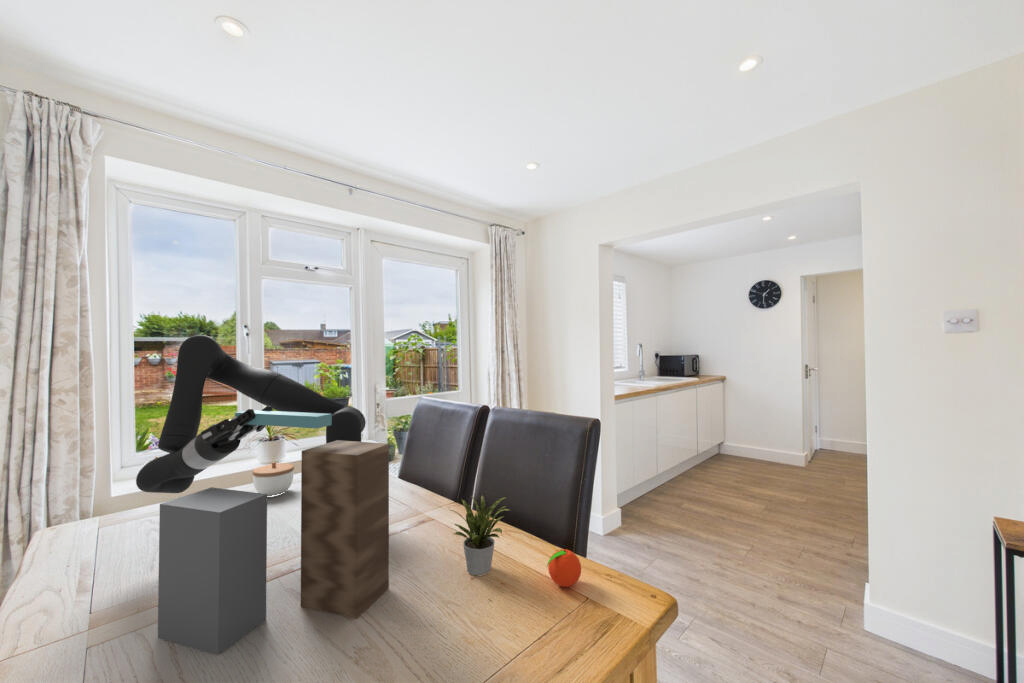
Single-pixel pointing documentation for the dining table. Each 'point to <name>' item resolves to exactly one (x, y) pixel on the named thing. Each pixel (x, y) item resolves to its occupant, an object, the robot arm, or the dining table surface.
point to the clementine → (564, 568)
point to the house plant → (479, 537)
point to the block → (290, 419)
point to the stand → (344, 526)
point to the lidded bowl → (273, 478)
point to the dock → (212, 568)
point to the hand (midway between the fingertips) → (262, 411)
